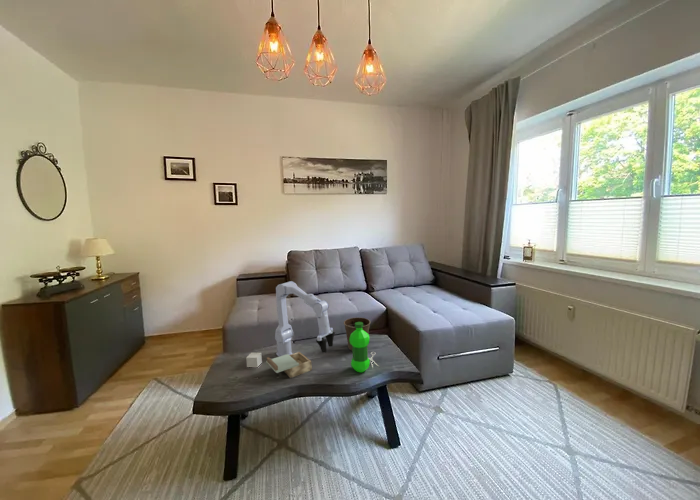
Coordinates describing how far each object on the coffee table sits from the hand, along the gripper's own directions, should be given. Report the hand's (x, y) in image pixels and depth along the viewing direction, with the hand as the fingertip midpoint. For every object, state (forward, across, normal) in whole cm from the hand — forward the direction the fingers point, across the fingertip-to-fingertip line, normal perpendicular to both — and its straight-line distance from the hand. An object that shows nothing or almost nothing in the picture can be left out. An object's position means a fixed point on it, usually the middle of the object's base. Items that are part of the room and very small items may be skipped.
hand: (327, 349), depth 152 cm
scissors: (+13, +15, -17) cm, 26 cm away
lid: (+3, -12, +21) cm, 24 cm away
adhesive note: (+5, -10, +41) cm, 43 cm away
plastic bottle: (+13, +3, -16) cm, 20 cm away
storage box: (+8, -6, +18) cm, 20 cm away
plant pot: (+11, +28, -5) cm, 30 cm away
